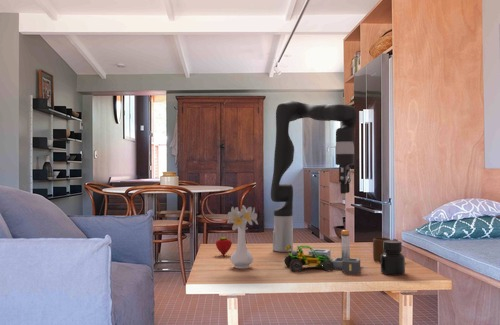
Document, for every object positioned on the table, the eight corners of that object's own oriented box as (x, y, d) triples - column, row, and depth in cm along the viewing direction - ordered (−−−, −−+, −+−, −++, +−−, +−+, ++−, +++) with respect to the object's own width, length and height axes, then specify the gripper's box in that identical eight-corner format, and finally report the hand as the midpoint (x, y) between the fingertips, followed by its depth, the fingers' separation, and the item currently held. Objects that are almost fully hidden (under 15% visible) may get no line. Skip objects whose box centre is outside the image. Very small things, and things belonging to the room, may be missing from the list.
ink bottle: (405, 271, 179) (404, 240, 179) (407, 276, 170) (407, 243, 171) (379, 270, 181) (378, 239, 181) (380, 275, 173) (379, 243, 173)
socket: (308, 260, 202) (308, 251, 202) (312, 257, 209) (312, 248, 209) (326, 261, 199) (326, 252, 199) (330, 258, 206) (330, 249, 206)
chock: (358, 274, 174) (358, 262, 174) (342, 273, 177) (342, 261, 177) (360, 272, 178) (360, 260, 178) (344, 271, 180) (344, 259, 181)
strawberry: (232, 255, 214) (232, 234, 215) (216, 256, 214) (216, 234, 214) (231, 253, 220) (231, 232, 220) (215, 254, 219) (215, 233, 220)
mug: (395, 258, 206) (395, 237, 207) (404, 261, 199) (403, 239, 199) (370, 259, 204) (370, 238, 204) (377, 262, 197) (377, 240, 197)
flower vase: (226, 272, 178) (225, 207, 179) (227, 263, 197) (226, 204, 197) (259, 272, 179) (259, 207, 179) (257, 263, 197) (257, 204, 198)
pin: (341, 265, 186) (340, 231, 186) (342, 264, 189) (342, 230, 189) (349, 266, 185) (348, 231, 185) (350, 264, 188) (349, 230, 188)
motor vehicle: (334, 271, 182) (333, 244, 182) (286, 273, 179) (285, 245, 179) (324, 265, 193) (324, 240, 193) (279, 267, 190) (279, 241, 190)
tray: (331, 268, 185) (331, 261, 185) (335, 264, 193) (335, 257, 193) (357, 270, 181) (356, 262, 181) (359, 266, 189) (359, 258, 190)
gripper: (351, 152, 180) (351, 194, 180) (356, 153, 193) (356, 192, 193) (332, 152, 183) (332, 193, 182) (338, 154, 196) (338, 192, 196)
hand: (345, 193), depth 188 cm, fingers open, 8 cm apart
